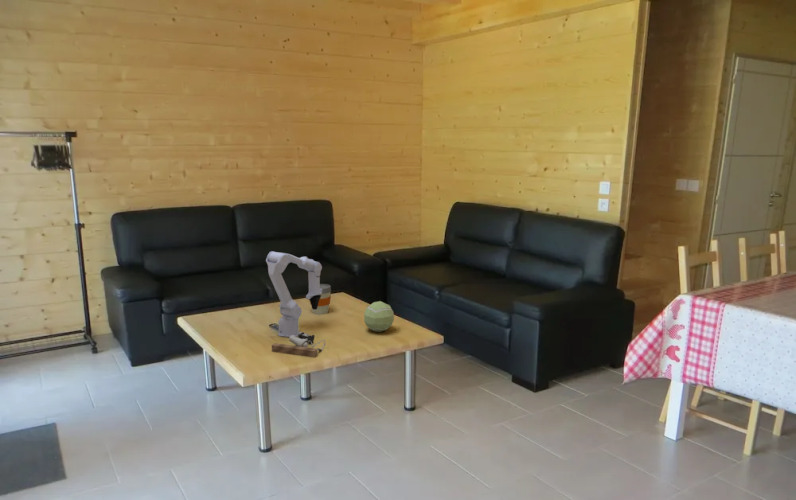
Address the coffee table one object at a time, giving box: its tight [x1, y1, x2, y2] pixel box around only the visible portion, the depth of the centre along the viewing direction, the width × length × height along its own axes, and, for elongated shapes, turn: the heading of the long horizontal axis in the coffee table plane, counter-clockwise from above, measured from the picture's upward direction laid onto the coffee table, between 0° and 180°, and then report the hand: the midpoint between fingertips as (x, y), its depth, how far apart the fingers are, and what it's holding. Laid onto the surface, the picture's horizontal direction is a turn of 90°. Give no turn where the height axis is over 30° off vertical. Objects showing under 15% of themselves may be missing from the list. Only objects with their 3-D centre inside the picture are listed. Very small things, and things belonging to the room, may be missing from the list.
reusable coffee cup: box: [309, 283, 332, 315], centre depth 326 cm, size 13×13×15 cm
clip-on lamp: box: [288, 331, 326, 352], centre depth 271 cm, size 12×6×18 cm
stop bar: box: [271, 342, 318, 358], centre depth 264 cm, size 22×3×3 cm, turn 71°
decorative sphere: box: [363, 300, 395, 333], centre depth 295 cm, size 15×15×15 cm
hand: (314, 309), depth 301 cm, fingers closed
